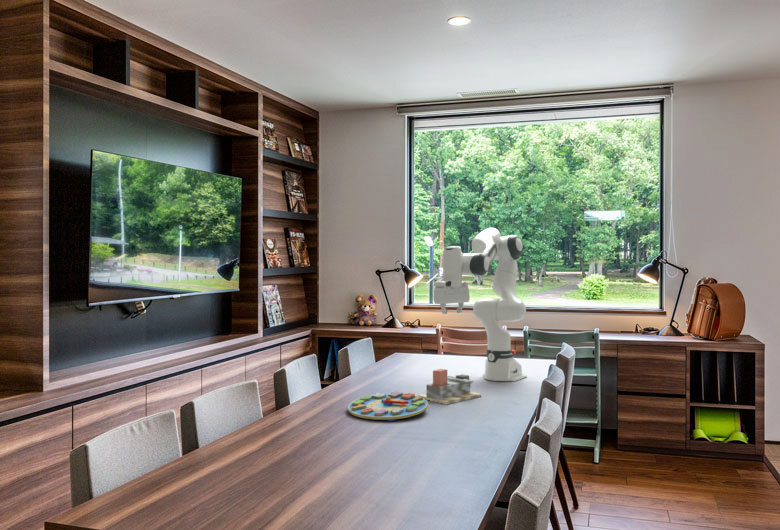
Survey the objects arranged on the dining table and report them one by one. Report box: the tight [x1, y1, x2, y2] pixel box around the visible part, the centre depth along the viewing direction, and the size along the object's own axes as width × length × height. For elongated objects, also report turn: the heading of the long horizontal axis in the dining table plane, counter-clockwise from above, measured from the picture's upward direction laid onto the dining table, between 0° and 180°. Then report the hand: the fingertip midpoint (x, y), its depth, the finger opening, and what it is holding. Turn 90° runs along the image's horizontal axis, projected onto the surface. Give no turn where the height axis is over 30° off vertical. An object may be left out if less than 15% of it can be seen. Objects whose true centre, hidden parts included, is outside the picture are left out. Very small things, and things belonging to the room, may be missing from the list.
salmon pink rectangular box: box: [432, 368, 448, 387], centre depth 262 cm, size 6×4×9 cm, turn 141°
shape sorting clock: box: [347, 391, 429, 422], centre depth 242 cm, size 31×30×6 cm
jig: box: [417, 373, 482, 405], centre depth 266 cm, size 22×16×8 cm
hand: (452, 313), depth 281 cm, fingers open, 8 cm apart
